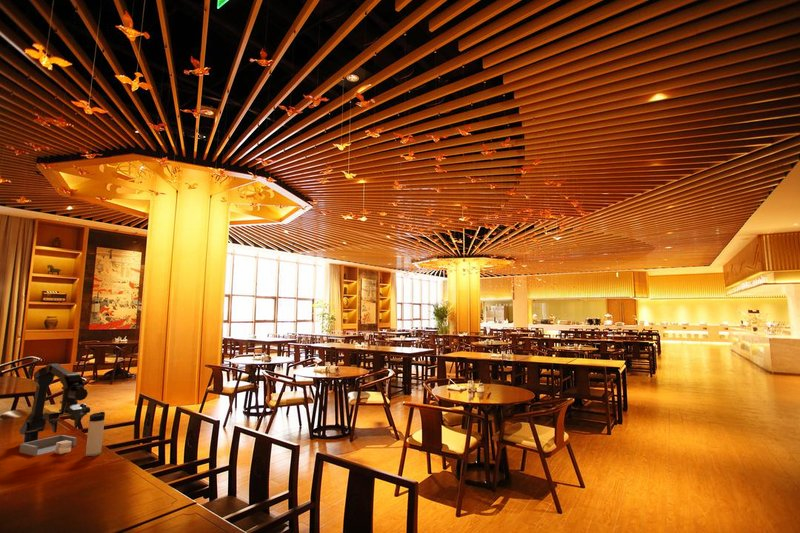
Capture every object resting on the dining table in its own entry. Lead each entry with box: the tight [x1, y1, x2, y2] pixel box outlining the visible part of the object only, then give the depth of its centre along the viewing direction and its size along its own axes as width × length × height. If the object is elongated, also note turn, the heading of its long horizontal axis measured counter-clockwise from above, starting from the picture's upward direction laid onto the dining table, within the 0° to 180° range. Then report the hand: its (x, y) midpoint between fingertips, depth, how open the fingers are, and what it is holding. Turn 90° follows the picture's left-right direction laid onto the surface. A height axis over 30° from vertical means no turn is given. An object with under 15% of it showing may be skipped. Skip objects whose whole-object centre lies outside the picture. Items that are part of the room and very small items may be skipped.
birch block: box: [54, 440, 72, 455], centre depth 208 cm, size 4×4×5 cm
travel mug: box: [85, 411, 106, 457], centre depth 207 cm, size 6×7×20 cm
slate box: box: [19, 434, 77, 457], centre depth 212 cm, size 13×18×4 cm
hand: (65, 430), depth 209 cm, fingers open, 9 cm apart
